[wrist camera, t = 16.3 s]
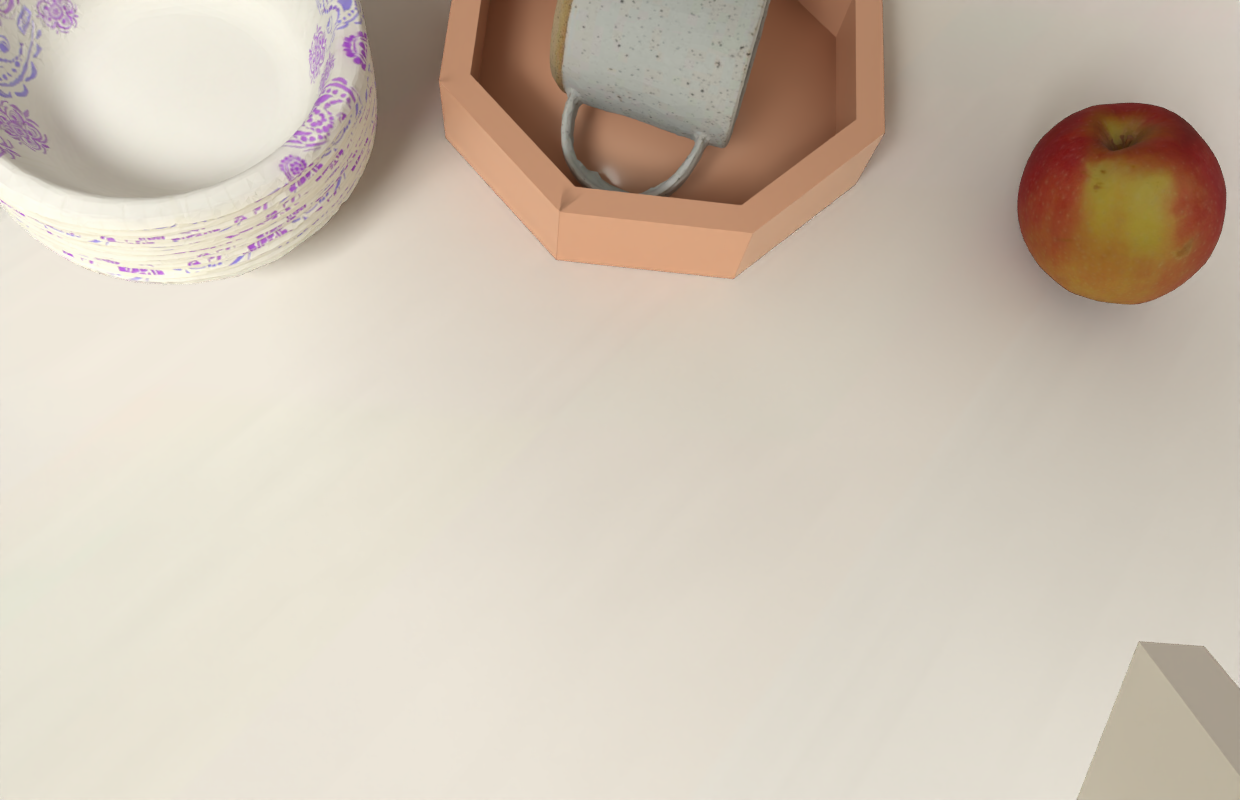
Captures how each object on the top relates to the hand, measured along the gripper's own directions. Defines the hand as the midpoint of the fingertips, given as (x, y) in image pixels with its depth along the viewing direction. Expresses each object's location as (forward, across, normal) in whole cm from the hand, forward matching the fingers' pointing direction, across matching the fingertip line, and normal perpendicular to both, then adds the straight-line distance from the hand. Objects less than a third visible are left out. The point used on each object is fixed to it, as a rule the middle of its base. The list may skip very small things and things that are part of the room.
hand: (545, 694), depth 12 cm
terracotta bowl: (+40, +3, +1) cm, 40 cm away
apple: (+36, +22, -4) cm, 42 cm away
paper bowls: (+36, -16, -3) cm, 39 cm away
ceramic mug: (+38, +3, 0) cm, 38 cm away
